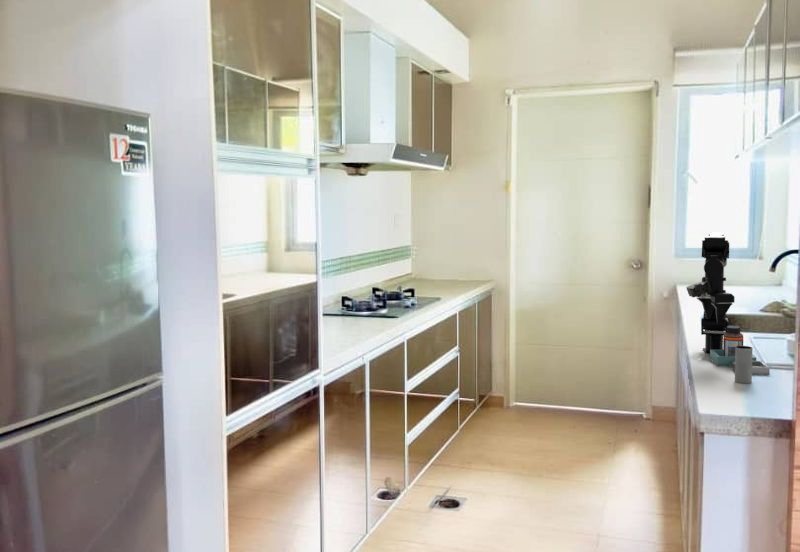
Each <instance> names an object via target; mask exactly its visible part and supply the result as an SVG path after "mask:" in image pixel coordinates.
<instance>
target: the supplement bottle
mask: <svg viewBox="0 0 800 552" xmlns="http://www.w3.org/2000/svg"><path fill="white" fill-rule="evenodd" d="M725 332H726V331H725ZM736 346H744V334H743V333H742V332H741V327H740V326H737V325H730V326H727V332H726V333H725V334H724V335H723V356H726V357H735V347H736Z"/></svg>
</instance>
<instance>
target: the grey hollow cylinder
mask: <svg viewBox="0 0 800 552" xmlns="http://www.w3.org/2000/svg"><path fill="white" fill-rule="evenodd" d="M752 354H753V346H748V345H743V346H736V347H735V371H734V381H735V383H740V384H751V383H752V382H753V381H752V380H753V374H752Z"/></svg>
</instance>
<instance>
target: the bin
mask: <svg viewBox="0 0 800 552" xmlns="http://www.w3.org/2000/svg"><path fill="white" fill-rule="evenodd" d="M709 358H710V360H711V361H712V362H713V363H714V364H715V365H716V366H717V367H730V360H735V357H726V356H723V350H710V353H709ZM752 361H757V357H756V355H754V354H753V353H752Z"/></svg>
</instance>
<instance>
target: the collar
mask: <svg viewBox="0 0 800 552" xmlns="http://www.w3.org/2000/svg"><path fill="white" fill-rule="evenodd" d="M729 367H730V368H731V369H732V370H733V372H735V360H730V366H729ZM770 369H771V368H770V366H769V365H767V364H766V363H765V362H763V361H762V360H756V361H752V375H770V374H771V373H770Z"/></svg>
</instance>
